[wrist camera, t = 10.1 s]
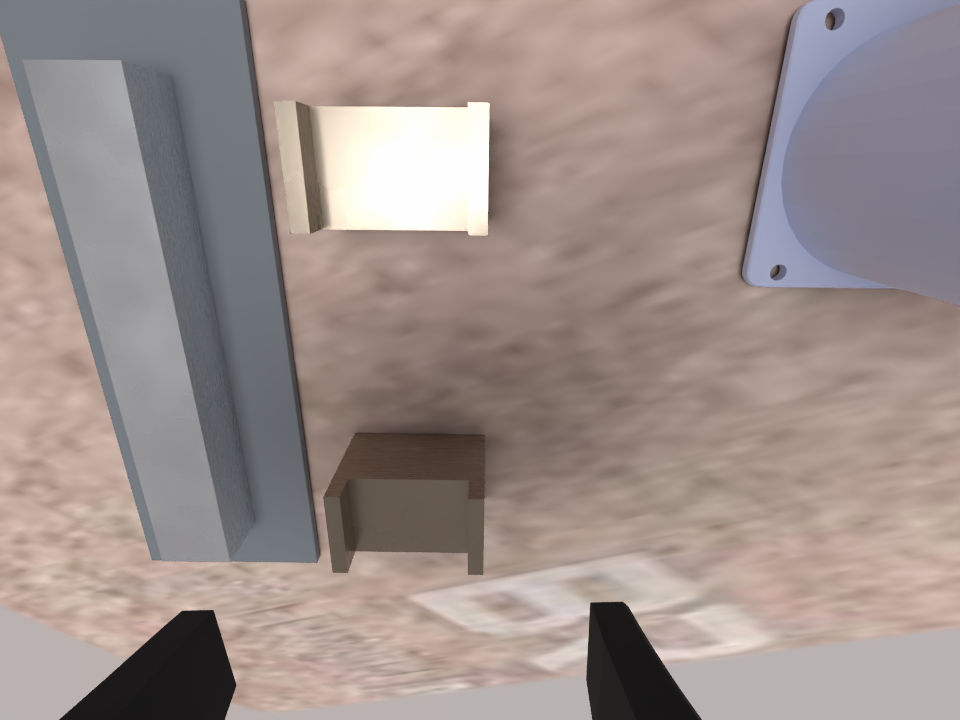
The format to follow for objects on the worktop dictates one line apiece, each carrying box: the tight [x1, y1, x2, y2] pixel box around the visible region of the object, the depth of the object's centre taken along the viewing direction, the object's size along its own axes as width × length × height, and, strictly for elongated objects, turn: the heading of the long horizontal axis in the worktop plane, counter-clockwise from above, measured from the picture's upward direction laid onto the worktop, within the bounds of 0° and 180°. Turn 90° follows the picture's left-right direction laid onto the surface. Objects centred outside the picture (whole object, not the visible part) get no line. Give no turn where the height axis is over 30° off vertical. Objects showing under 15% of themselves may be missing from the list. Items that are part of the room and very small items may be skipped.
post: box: [323, 433, 485, 575], centre depth 18 cm, size 5×3×4 cm, turn 90°
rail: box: [22, 59, 256, 562], centre depth 16 cm, size 2×16×2 cm, turn 179°
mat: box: [0, 0, 320, 563], centre depth 18 cm, size 7×20×1 cm, turn 0°
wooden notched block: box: [274, 101, 489, 235], centre depth 14 cm, size 5×3×4 cm, turn 90°
